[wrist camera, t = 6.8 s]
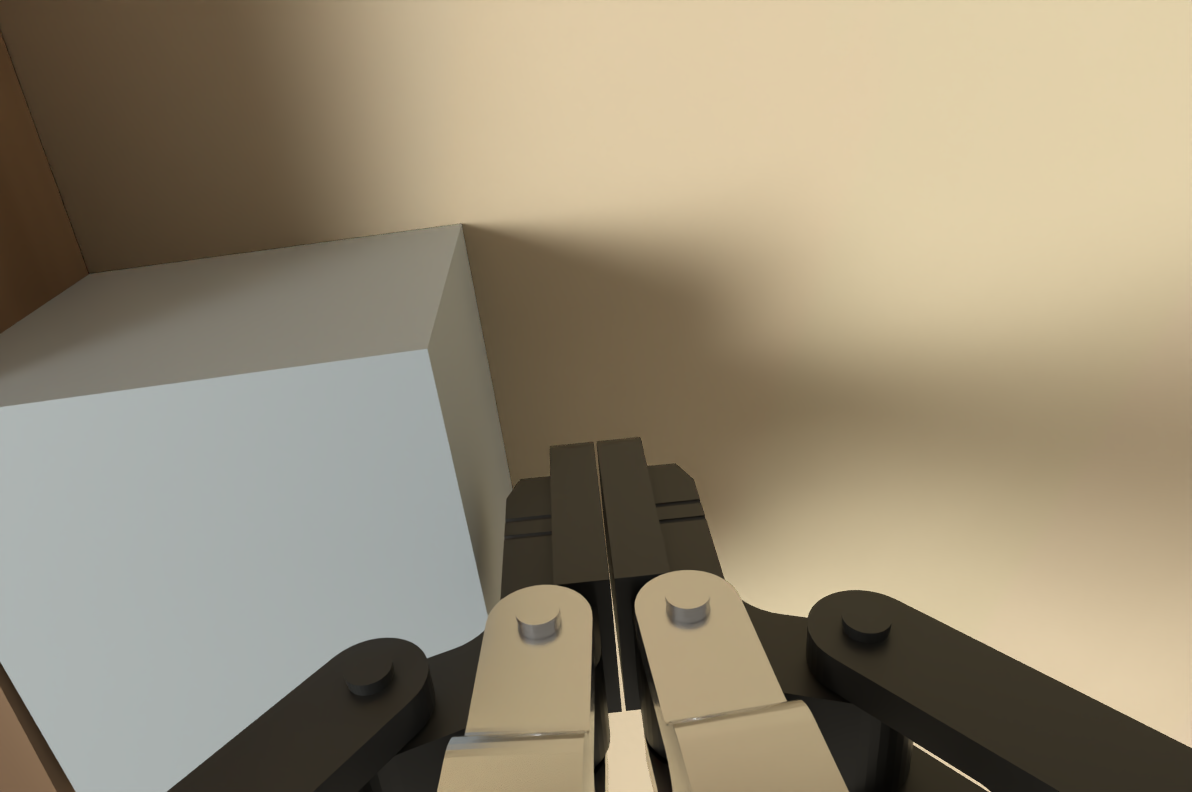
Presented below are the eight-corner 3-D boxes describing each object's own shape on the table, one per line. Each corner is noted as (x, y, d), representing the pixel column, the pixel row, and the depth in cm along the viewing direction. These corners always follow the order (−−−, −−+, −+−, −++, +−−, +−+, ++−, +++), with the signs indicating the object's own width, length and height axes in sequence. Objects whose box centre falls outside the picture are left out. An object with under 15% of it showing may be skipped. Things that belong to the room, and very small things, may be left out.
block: (461, 223, 16) (427, 348, 10) (520, 527, 19) (516, 744, 14) (89, 273, 16) (-137, 425, 10) (210, 571, 19) (84, 806, 14)
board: (-126, -313, 12) (-662, -551, 7) (288, 822, 23) (214, 1085, 17) (-271, -301, 12) (-937, -534, 6) (213, 831, 23) (115, 1097, 17)
